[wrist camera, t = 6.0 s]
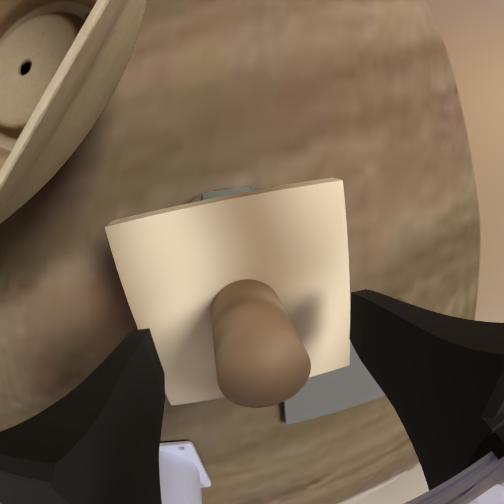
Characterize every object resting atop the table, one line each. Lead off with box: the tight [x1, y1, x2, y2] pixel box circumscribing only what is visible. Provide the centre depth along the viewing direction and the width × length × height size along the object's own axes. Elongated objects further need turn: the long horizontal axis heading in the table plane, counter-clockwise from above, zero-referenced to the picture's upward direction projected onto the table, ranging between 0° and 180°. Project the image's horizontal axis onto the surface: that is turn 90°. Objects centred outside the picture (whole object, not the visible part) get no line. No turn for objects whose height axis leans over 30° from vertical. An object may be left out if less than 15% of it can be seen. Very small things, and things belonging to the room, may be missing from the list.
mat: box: [283, 298, 406, 425], centre depth 20 cm, size 9×9×1 cm
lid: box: [105, 178, 350, 408], centre depth 11 cm, size 9×9×5 cm
